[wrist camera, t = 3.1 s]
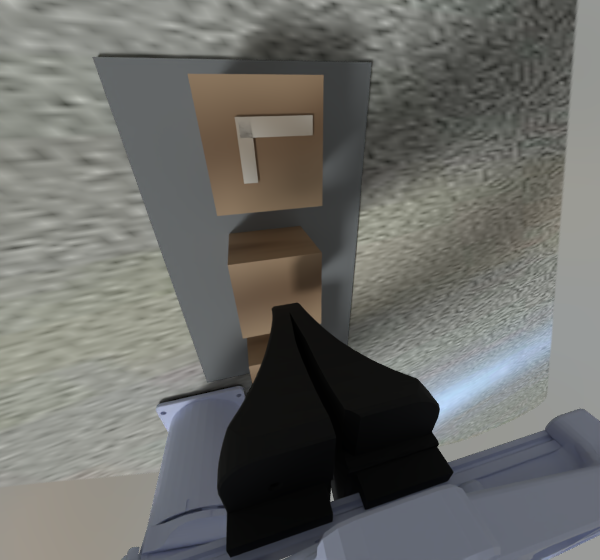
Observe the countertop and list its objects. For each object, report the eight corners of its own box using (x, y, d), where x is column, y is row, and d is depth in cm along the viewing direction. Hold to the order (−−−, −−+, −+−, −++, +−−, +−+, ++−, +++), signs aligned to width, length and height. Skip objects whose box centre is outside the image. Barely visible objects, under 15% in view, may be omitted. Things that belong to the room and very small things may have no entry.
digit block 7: (301, 189, 16) (326, 206, 12) (221, 195, 15) (217, 216, 11) (297, 95, 14) (328, 74, 9) (202, 96, 13) (186, 72, 8)
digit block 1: (306, 350, 24) (322, 396, 19) (253, 361, 23) (258, 412, 18) (305, 309, 21) (323, 352, 17) (245, 319, 20) (249, 368, 16)
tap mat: (345, 349, 25) (346, 352, 25) (207, 379, 23) (207, 382, 23) (369, 63, 14) (371, 62, 14) (95, 58, 11) (92, 56, 11)
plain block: (302, 285, 20) (321, 323, 16) (240, 294, 19) (242, 338, 15) (300, 225, 17) (321, 252, 13) (228, 233, 16) (227, 265, 12)
